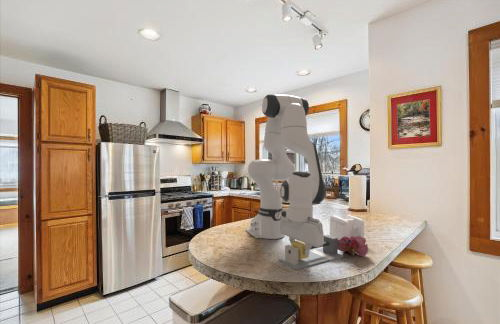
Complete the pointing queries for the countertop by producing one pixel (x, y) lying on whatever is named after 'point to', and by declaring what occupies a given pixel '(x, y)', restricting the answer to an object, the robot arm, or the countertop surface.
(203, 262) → the countertop surface
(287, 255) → the grey slider rail toy
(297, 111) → the robot arm
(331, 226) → the cable organizer
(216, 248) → the countertop surface
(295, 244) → the sleeve
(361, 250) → the flower
